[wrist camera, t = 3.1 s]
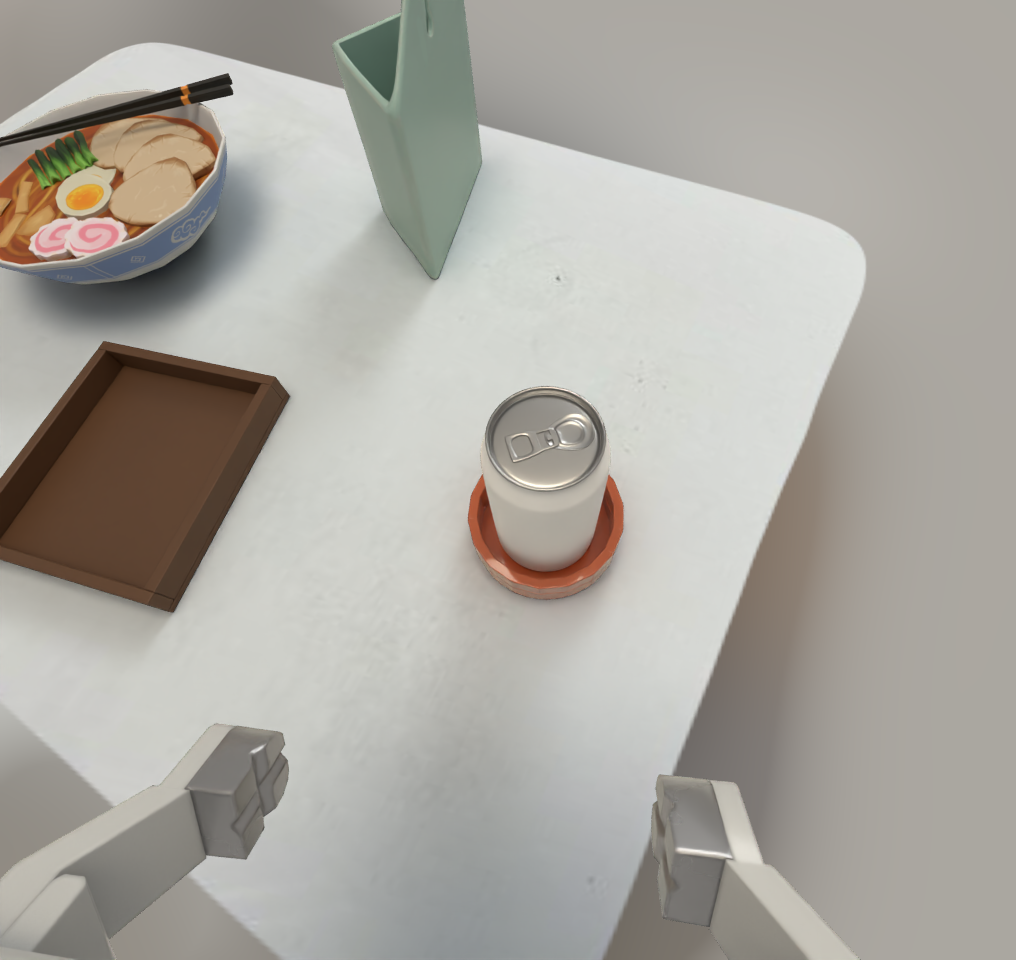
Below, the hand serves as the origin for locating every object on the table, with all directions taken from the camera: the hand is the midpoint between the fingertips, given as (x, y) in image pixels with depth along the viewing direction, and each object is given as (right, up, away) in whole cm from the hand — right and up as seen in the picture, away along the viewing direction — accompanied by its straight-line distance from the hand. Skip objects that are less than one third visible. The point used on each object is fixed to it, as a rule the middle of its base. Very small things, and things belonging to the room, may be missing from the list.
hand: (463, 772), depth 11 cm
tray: (-26, +7, +28) cm, 39 cm away
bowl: (+3, +3, +24) cm, 24 cm away
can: (+3, +3, +24) cm, 24 cm away
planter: (-7, +32, +39) cm, 50 cm away
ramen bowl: (-34, +29, +39) cm, 59 cm away
